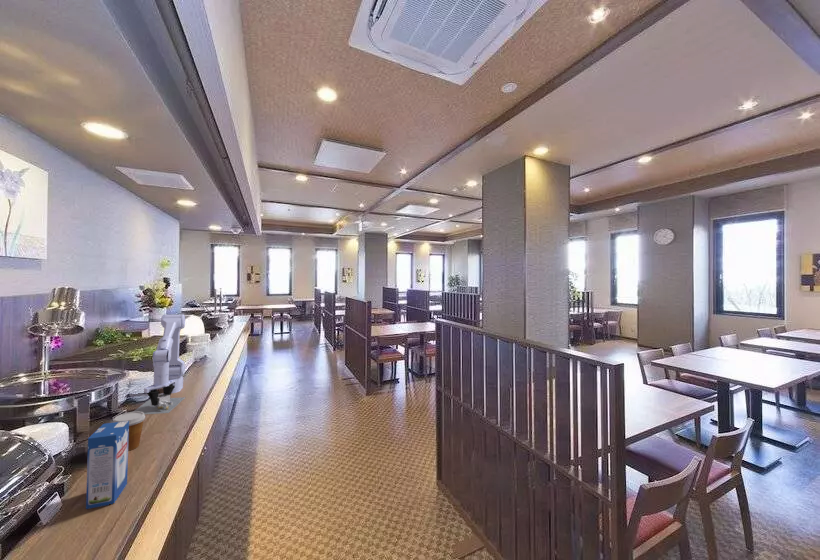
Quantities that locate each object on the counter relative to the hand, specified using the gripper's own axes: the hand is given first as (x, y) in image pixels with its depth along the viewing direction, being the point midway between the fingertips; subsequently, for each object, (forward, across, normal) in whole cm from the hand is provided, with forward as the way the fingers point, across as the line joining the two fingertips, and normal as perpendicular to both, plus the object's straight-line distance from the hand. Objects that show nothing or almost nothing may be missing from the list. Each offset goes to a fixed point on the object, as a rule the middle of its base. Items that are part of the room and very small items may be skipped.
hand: (160, 403), depth 158 cm
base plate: (+4, +2, +4) cm, 5 cm away
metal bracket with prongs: (+1, 0, -1) cm, 2 cm away
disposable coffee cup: (+4, -29, -21) cm, 36 cm away
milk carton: (+4, -50, -44) cm, 67 cm away
